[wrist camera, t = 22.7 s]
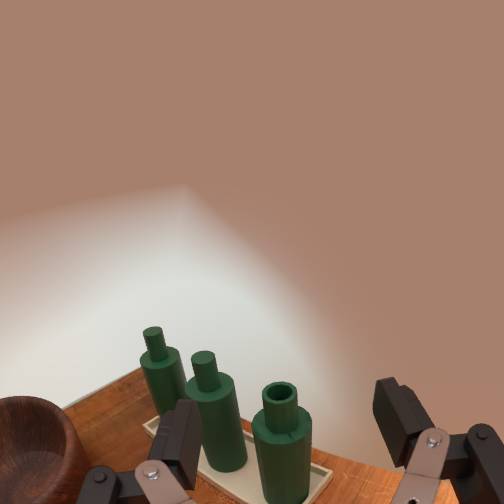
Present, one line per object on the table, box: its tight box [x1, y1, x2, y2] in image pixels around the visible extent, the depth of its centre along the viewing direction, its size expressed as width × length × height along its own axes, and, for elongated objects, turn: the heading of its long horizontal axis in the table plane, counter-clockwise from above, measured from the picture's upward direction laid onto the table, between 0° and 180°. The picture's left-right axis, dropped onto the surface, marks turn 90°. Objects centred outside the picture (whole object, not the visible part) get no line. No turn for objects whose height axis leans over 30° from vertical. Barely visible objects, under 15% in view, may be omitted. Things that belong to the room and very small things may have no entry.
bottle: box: [251, 382, 312, 504], centre depth 27 cm, size 6×6×18 cm
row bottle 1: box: [140, 327, 188, 419], centre depth 40 cm, size 6×6×18 cm
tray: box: [143, 415, 333, 504], centre depth 36 cm, size 28×10×2 cm, turn 50°
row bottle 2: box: [185, 351, 248, 473], centre depth 34 cm, size 6×6×18 cm
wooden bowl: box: [0, 396, 89, 504], centre depth 24 cm, size 25×25×10 cm
